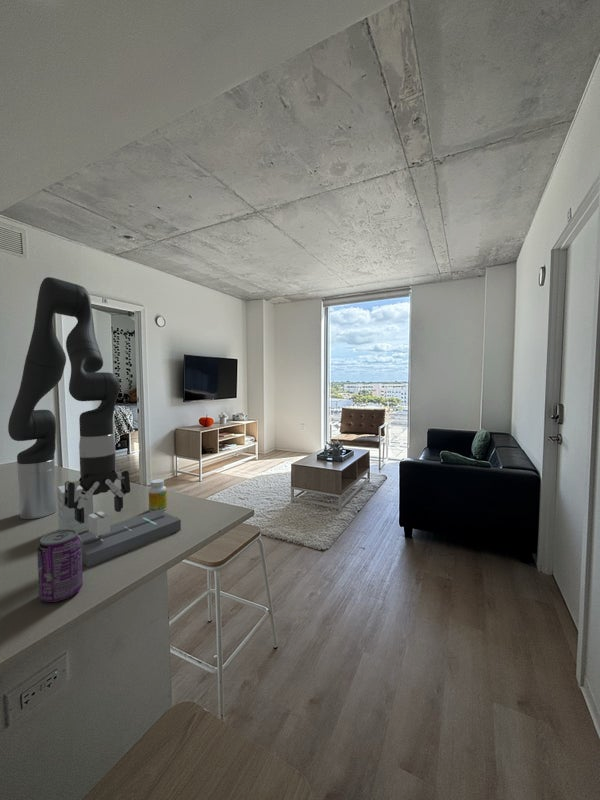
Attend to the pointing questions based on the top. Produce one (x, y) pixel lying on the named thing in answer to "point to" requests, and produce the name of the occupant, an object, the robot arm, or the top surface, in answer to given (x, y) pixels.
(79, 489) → the supplement box
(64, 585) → the beverage can
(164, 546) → the top surface
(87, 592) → the top surface
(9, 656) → the top surface
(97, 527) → the fader knob
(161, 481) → the supplement bottle
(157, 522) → the console
